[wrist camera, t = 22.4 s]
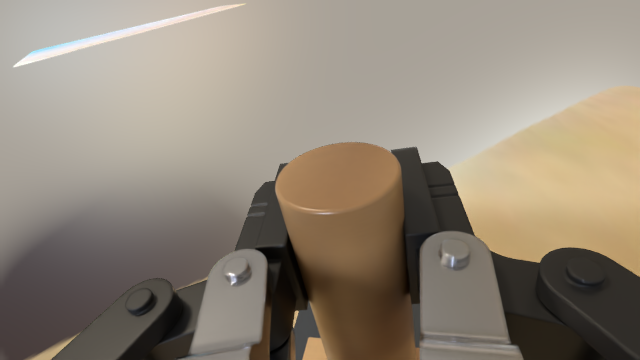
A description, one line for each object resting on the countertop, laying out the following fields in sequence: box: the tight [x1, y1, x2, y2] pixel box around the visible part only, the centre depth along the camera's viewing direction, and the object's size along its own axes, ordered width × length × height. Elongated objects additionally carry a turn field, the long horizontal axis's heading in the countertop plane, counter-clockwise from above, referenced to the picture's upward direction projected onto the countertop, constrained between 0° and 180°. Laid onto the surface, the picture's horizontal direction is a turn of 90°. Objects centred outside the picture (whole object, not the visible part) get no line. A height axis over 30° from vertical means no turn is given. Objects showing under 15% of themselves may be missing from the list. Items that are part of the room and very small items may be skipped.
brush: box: [275, 142, 420, 360], centre depth 11 cm, size 6×4×13 cm
